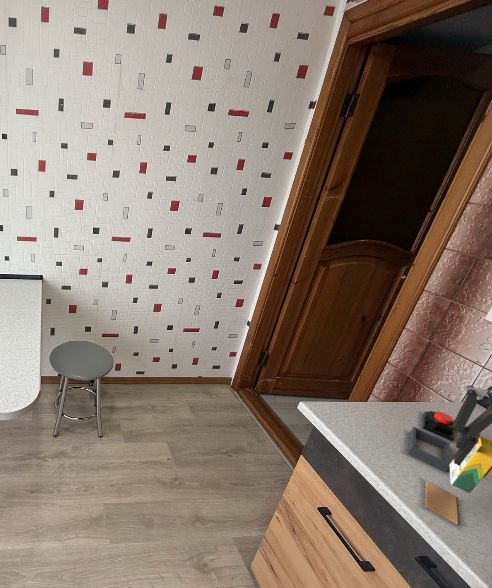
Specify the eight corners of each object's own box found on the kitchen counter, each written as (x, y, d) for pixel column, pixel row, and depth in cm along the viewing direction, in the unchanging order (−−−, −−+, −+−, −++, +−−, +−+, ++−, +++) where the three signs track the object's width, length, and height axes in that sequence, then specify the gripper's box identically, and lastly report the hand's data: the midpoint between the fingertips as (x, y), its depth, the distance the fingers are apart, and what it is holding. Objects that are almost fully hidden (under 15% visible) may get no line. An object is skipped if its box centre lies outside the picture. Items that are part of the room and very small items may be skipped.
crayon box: (470, 494, 68) (503, 454, 63) (450, 484, 70) (480, 444, 65) (468, 473, 73) (498, 434, 68) (448, 464, 75) (476, 426, 70)
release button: (432, 414, 98) (435, 409, 98) (449, 421, 96) (453, 416, 95) (432, 419, 96) (435, 415, 95) (450, 427, 94) (453, 422, 93)
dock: (444, 449, 89) (449, 442, 88) (445, 472, 82) (451, 465, 81) (409, 433, 94) (413, 426, 93) (407, 453, 87) (412, 446, 86)
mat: (455, 497, 76) (456, 496, 76) (457, 524, 70) (458, 523, 70) (425, 482, 79) (426, 481, 79) (425, 506, 73) (426, 505, 73)
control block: (422, 413, 102) (427, 406, 101) (451, 425, 98) (457, 418, 97) (421, 428, 96) (426, 420, 95) (453, 442, 92) (458, 434, 91)
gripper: (477, 363, 63) (417, 451, 72) (624, 411, 53) (531, 506, 62) (474, 350, 68) (418, 434, 77) (607, 391, 58) (523, 482, 67)
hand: (468, 466), depth 70 cm, fingers closed on crayon box, 3 cm apart
